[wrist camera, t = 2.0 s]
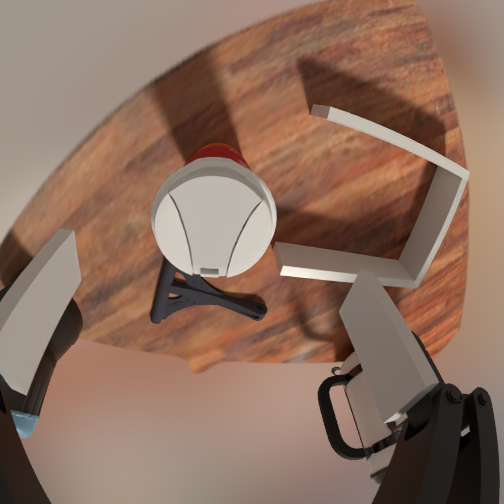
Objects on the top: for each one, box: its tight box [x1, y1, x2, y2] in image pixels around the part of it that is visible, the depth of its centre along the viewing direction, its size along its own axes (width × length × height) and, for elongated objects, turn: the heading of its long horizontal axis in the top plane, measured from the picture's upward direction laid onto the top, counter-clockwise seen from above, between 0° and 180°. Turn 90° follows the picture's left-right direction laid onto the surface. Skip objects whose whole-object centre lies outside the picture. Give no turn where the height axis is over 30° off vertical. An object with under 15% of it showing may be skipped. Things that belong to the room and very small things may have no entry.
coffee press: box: [318, 352, 408, 485], centre depth 35 cm, size 17×16×30 cm
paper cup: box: [151, 143, 277, 278], centre depth 21 cm, size 8×8×14 cm
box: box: [273, 104, 470, 289], centre depth 28 cm, size 20×17×5 cm
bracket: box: [151, 258, 267, 324], centre depth 35 cm, size 14×15×3 cm
